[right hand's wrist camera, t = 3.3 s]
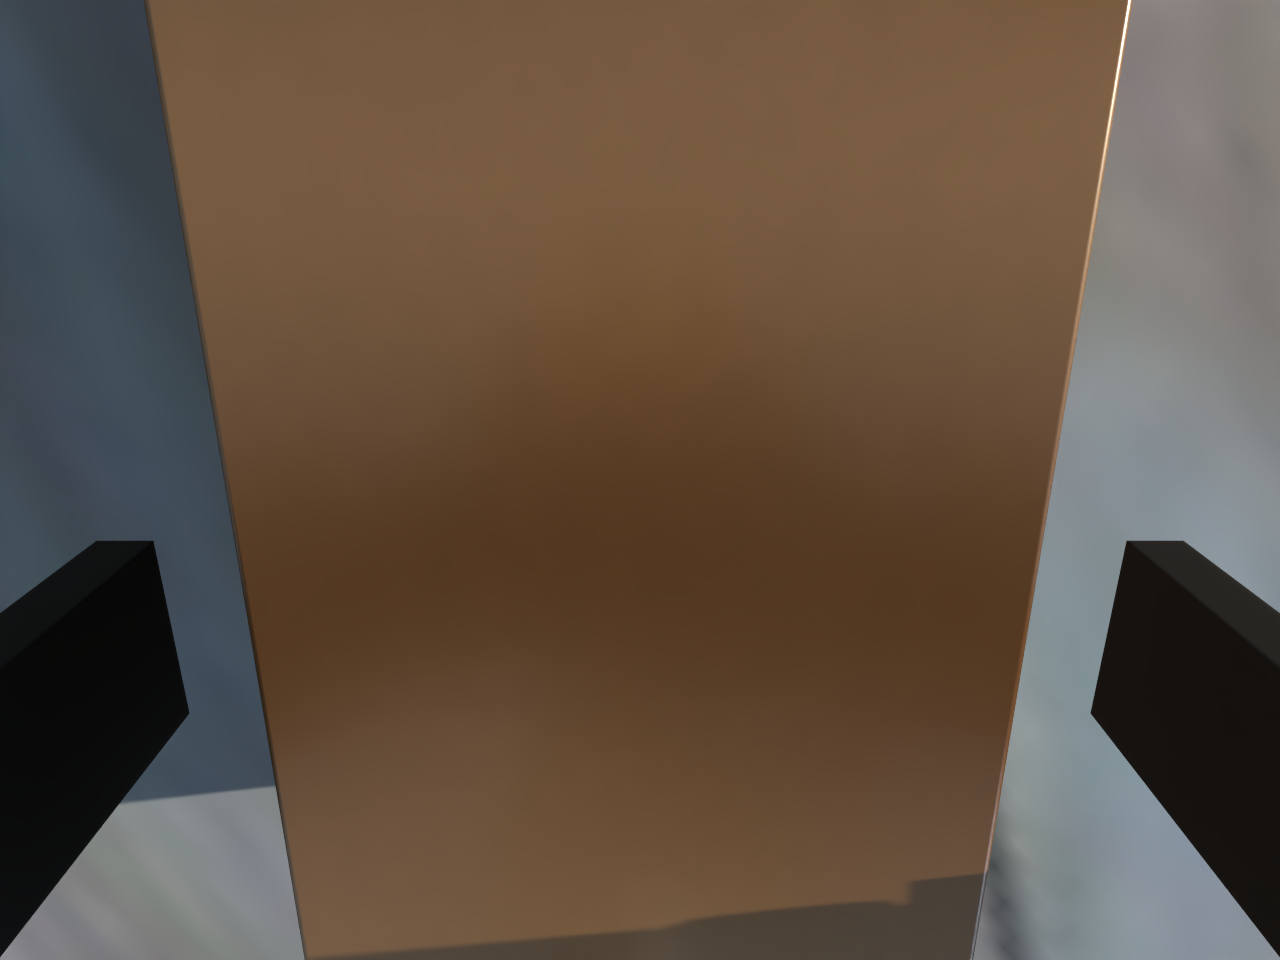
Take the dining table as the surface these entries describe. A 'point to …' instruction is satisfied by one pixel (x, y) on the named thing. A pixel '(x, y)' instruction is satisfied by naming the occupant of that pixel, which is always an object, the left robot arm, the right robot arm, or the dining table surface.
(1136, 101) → the dining table surface
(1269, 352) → the dining table surface
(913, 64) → the bar
